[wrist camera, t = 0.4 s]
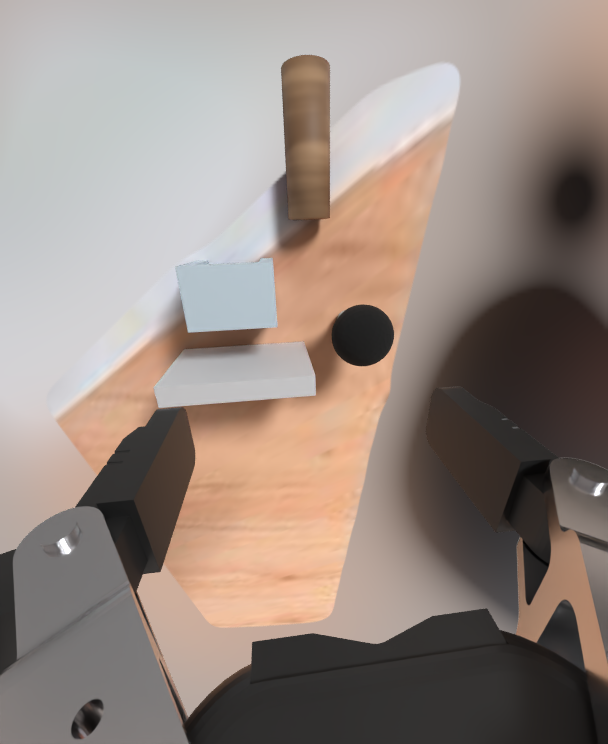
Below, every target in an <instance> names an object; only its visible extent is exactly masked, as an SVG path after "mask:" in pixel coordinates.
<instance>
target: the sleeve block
mask: <svg viewBox="0 0 608 744" xmlns="http://www.w3.org/2000/svg"><path fill="white" fill-rule="evenodd" d="M175 269H176V274H177V279H178V284H179V289H180V294H181V299H182V304H183V309H184V315H185V320H186V325H187V330H188V333H189V332H206V331H222V330H239V329H255V328H272V327H277V313H276V299H275V285H274V271H273V259H272V258H261V259H260V261H259V262H250V263H226V264H208V261H195V262H191V263H187V264H184V265H180V266H176V267H175Z"/></svg>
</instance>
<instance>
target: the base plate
mask: <svg viewBox="0 0 608 744" xmlns="http://www.w3.org/2000/svg"><path fill="white" fill-rule="evenodd" d="M154 392H155V395H156V399H157V403H158V407H159V408H165V407H177V406H190V405H202V404H215V403H227V402H240V401H252V400H265V399H278V398H290V397H303V396H315V395H316V380H315V373H314V370H313V367H312V364H311V361H310V358H309V355H308V352H307V349H306V346H305V343H304V341H303V342H288V343H272V344H257V345H241V346H226V347H210V348H195V349H184V350H183V351H182V352H181V354H180V355H179V356H178V357H177V359H176V360H175V361H174V362H173V364H172V365H171V366H170V368H169V369H168V370H167V371H166V373H165V374H164V375H163V376H162V378H161V379H160V380H159V381H158V383H157V384H156V385H155V386H154Z"/></svg>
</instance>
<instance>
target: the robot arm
mask: <svg viewBox="0 0 608 744" xmlns="http://www.w3.org/2000/svg"><path fill="white" fill-rule="evenodd" d="M426 435H427V440H428V442H429V444H430V446H431V448H432V449H433V450H434V452H435V453H436V454H437V455H438V457H439V458H440V460H441V461H442V462H443V463H444V465H445V466H446V468H447V469H448V470H449V471H450V473H451V474H452V475H453V477H454V478H455V479H456V481H457V482H458V483H459V485H460V486H461V487H462V489H463V490H464V491H465V493H466V494H467V495H468V497H469V498H470V499H471V501H472V502H473V503H474V505H475V506H476V507H477V509H478V510H479V511H480V512H481V514H482V515H483V516H484V518H485V519H486V520H487V522H488V523H489V524H490V525H491V527H492V528H493V529H494V531H495V532H496V533H498V532H506V531H516V532H517V533H518V534H519V535H520V538H519V541H518V543H517V568H518V595H519V596H518V598H519V619H518V626H517V631H516V635H515V634H512V633H509V632H505V631H502V630H499V628H498V627H497V625H496V623H495V622H494V620H493V618H492V616H491V615H490V613H489V611H488V609H480V610H473V611H467V612H459V613H452V614H445V615H438V616H432V617H430V618H428V619H426V620H424V621H423V622H421V623H419V624H417V625H415V626H413V627H411V628H410V629H408V630H406V631H404V632H402V633H400V634H398V635H397V636H395V637H393V638H391V639H389V640H387V641H386V642H383V643H380V644H370V643H365V642H359V641H353V640H347V639H342V638H336V637H331V636H325V635H319V634H305V635H298V636H291V637H284V638H277V639H270V640H263V641H256V642H252V663H251V664H250V665H248V666H246V667H244V668H242V669H241V670H239V671H237V672H236V673H234V674H233V675H232V676H230V677H229V678H227V679H226V680H224V681H223V682H222V683H221V684H220V685H219V686H218V687H216V688H215V689H214V690H213V691H212V692H211V693H210V694H209V695H208V696H207V697H206V698H205V699H204V700H203V701H202V702H201V703H200V705H199V706H198V707H197V708H196V709H195V710H194V711H193V713H192V714H191V715H190V717H189V718H188V716H187V713H186V711H185V708H184V706H183V703H182V701H181V699H180V696H179V694H178V691H177V689H176V687H175V684H174V682H173V680H172V677H171V675H170V672H169V670H168V668H167V665H166V663H165V660H164V658H163V655H162V653H161V650H160V648H159V645H158V643H157V640H156V638H155V635H154V632H153V630H152V628H151V625H150V623H149V620H148V618H147V615H146V613H145V610H144V607H143V605H142V603H141V600H140V597H139V595H138V593H137V588H138V586H139V582H140V580H141V577H142V575H143V574H147V573H155V572H160V571H161V569H162V566H163V562H164V559H165V556H166V553H167V550H168V547H169V544H170V541H171V538H172V535H173V531H174V528H175V525H176V522H177V519H178V516H179V513H180V510H181V507H182V503H183V500H184V497H185V494H186V491H187V488H188V485H189V482H190V479H191V475H192V472H193V469H194V465H195V448H194V443H193V439H192V434H191V430H190V426H189V421H188V417H187V413H186V410H185V409H184V408H183V407H181V408H168V409H158V410H156V411H155V412H154V414H153V416H152V417H151V419H150V420H149V422H148V423H147V425H146V426H145V427H138V428H137V429H136V430H134V431H133V432H132V433H130V434H129V435H128V436H127V437H125V438H124V439H123V440H122V442H121V443H120V445H119V446H118V448H117V449H116V450H115V454H113V455H112V456H111V457H110V459H109V460H108V462H107V465H105V466H104V467H103V469H102V470H101V471H100V473H99V474H98V476H97V477H96V479H95V480H94V481H93V483H92V484H91V486H90V487H89V488H88V490H87V492H86V493H85V494H84V495H83V497H82V498H81V500H80V501H79V503H78V504H77V506H76V507H75V508H72V509H68V510H66V511H63V512H61V513H58V514H56V515H54V516H52V517H50V518H49V519H47V520H45V521H44V522H43V523H41V524H40V525H38V526H37V527H36V528H34V529H33V530H32V531H31V532H30V533H29V534H28V535H27V536H26V537H25V538H24V539H23V540H22V542H21V543H20V544H19V546H18V547H17V549H15V550H12V551H9V552H6V553H3V554H0V744H608V470H606V469H604V468H602V467H600V466H598V465H596V464H593V463H590V462H587V461H584V460H579V459H574V458H558V457H557V456H556V455H555V454H553V453H552V452H551V451H549V450H548V449H547V448H546V447H544V446H543V445H542V444H540V443H539V442H538V441H537V440H535V439H534V438H533V437H531V436H530V435H529V434H528V433H526V432H525V431H524V430H522V429H521V428H518V426H517V425H516V424H515V423H513V422H512V421H511V420H508V419H507V417H506V416H504V415H503V414H502V413H501V412H499V411H498V410H497V409H495V408H494V407H492V406H490V405H487V404H485V403H483V402H481V401H479V400H477V399H476V398H475V397H473V396H472V395H471V394H470V393H468V392H467V391H466V390H465V389H463V388H462V387H446V388H436V389H435V390H434V391H433V393H432V397H431V403H430V409H429V414H428V420H427V426H426Z"/></svg>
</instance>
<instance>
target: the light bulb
mask: <svg viewBox="0 0 608 744" xmlns="http://www.w3.org/2000/svg"><path fill="white" fill-rule="evenodd" d="M393 340H394V330H393V326H392V323H391V321H390V319H389V318H388V316H387V315H386V314H385V313H384V312H383V311H381V310H380V309H378V308H377V307H374V306H371V305H356V306H353V307H350V308H348V309H347V310H345V311H342V312H341V313H340V314H339V315H338V317H337V319H336V321H335V323H334V326H333V329H332V343H333V346H334V349H335V351H336V352H337V354H338V355H339V356H340V357H341V358H342V359H343V360H344V361H346V362H347V363H350V364H352V365H355V366H368V365H372V364H375V363H377V362H379V361H380V360H381V359H383V358H384V357H385V356H386V355H387V353H388V352H389V350H390V349H391V346H392V344H393Z"/></svg>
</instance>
